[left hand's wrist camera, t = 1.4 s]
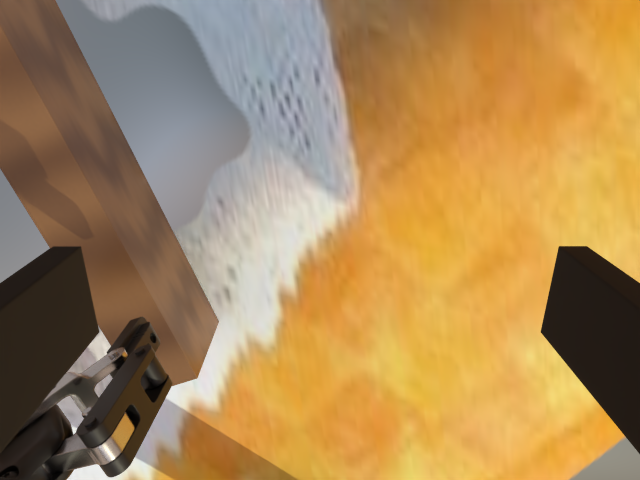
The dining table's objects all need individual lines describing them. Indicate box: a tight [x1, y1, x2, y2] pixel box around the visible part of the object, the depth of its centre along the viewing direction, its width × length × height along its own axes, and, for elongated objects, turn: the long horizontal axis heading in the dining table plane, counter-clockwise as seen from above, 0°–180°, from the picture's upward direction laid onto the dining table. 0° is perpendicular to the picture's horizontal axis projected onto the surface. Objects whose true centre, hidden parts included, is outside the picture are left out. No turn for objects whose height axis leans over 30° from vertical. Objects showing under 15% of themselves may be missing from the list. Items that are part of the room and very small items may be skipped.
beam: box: [0, 0, 219, 386], centre depth 32 cm, size 51×5×9 cm, turn 20°
